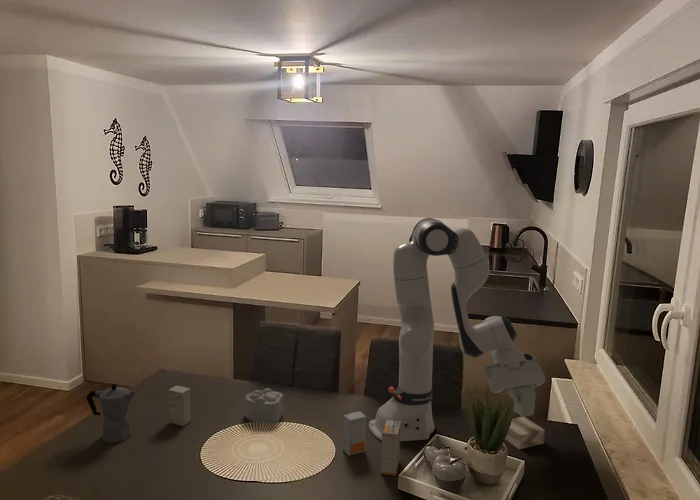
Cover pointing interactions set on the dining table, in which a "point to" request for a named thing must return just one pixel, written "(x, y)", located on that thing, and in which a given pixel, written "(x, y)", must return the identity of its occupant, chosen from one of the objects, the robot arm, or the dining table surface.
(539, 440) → the ash block
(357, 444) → the skincare box
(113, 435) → the coffeepot
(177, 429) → the dining table surface
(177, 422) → the skincare box
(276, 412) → the lumpy-topped squat cylinder
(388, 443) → the supplement box
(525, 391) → the sage block
